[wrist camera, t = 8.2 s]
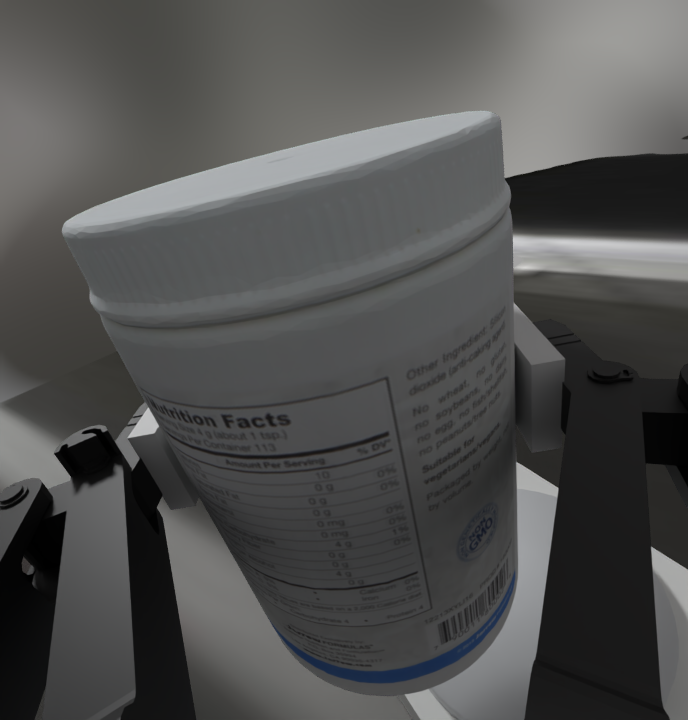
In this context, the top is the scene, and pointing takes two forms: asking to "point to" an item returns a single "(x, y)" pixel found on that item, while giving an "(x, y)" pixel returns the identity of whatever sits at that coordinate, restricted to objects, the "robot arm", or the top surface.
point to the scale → (521, 630)
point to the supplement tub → (337, 382)
